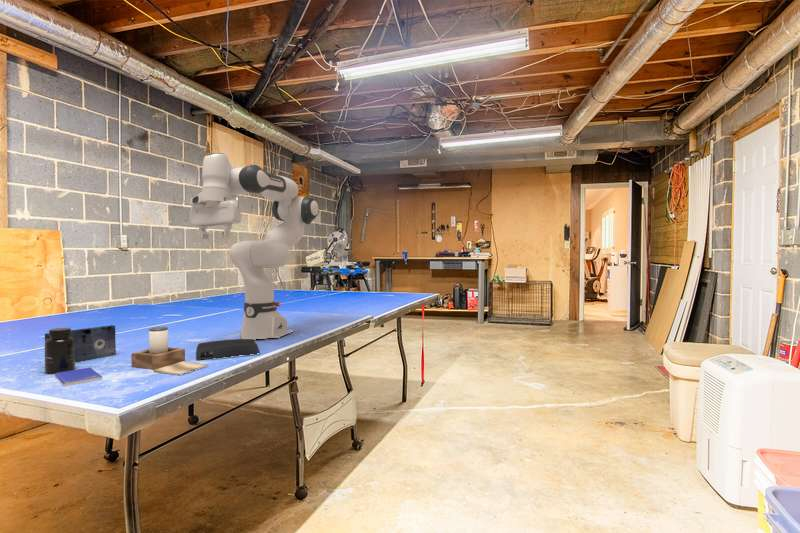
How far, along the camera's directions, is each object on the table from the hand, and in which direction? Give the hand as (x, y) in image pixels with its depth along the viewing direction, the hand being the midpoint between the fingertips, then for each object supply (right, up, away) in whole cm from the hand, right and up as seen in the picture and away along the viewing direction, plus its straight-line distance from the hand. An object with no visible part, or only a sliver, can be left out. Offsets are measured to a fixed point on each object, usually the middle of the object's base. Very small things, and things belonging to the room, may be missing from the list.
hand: (215, 238), depth 145 cm
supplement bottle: (-33, -40, -25) cm, 58 cm away
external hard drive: (+6, -40, -4) cm, 41 cm away
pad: (0, -40, -23) cm, 46 cm away
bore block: (-9, -40, -18) cm, 44 cm away
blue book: (-23, -41, -32) cm, 57 cm away
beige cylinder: (-9, -40, -18) cm, 44 cm away
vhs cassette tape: (-35, -40, -14) cm, 55 cm away
